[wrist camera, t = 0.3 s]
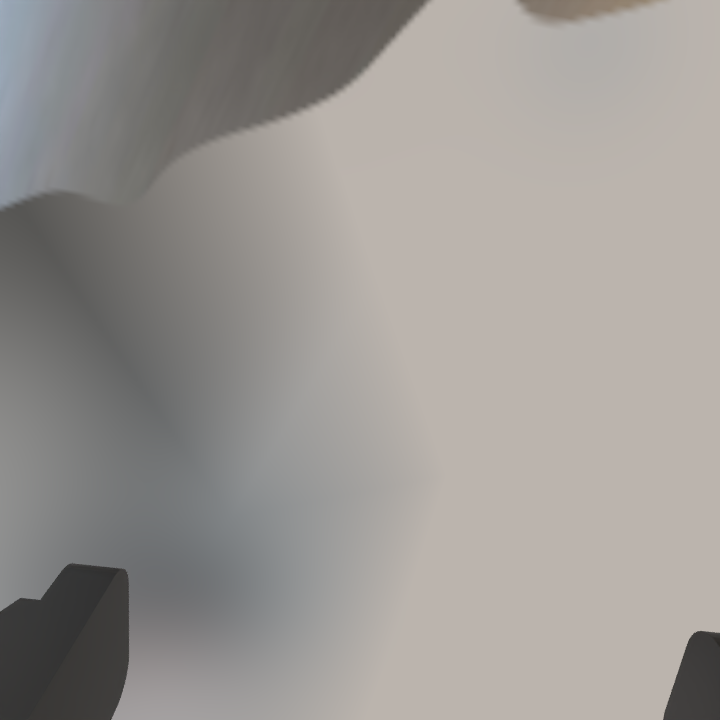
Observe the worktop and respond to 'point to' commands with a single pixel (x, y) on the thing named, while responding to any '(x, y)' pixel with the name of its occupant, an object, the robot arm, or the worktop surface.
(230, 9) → the worktop surface
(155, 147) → the worktop surface
